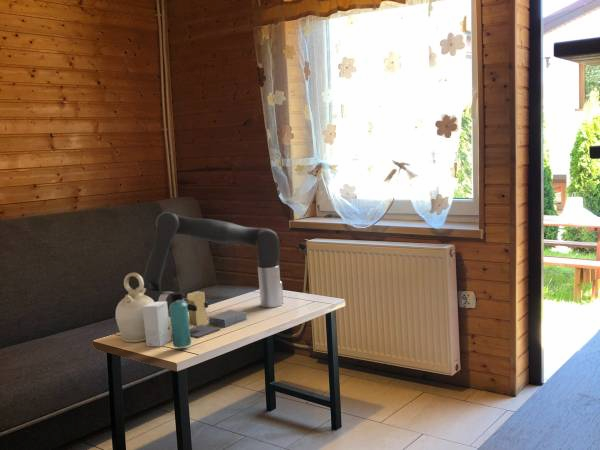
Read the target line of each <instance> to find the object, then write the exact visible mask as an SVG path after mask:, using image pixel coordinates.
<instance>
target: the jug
mask: <svg viewBox="0 0 600 450" xmlns="http://www.w3.org/2000/svg"><path fill="white" fill-rule="evenodd" d="M132 277H134V278H136V279H137V281H138V286H137V287H136V288H135V289H134V288H132V287H131V286H130V284H129V282H130V280H131V279H130V278H132ZM123 286H124V289H125V290H126V291H127V292H128V294H125V296H124V298H122V299H121V300H120V301H119V302H118V303H117V306H116V308H115V321H116V323H117V327H118V330H119V333H120V336H121V338H122V341H124V342H126V343H132V344H133V343H141V342H146V335H145V326H144V317H143V308H142V307H143V306H145V305H147V304H150V303H152V302H154V301H153V299H151V298H150V297H148V296H146V295H144V293H145V291H146V289H147V288H145V287H144V286H145V281H144V280H143V276H142V275H140V273H138V272H130V273H128V274H126V276H125V277H124V279H123Z"/></svg>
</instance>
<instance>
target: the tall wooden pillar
mask: <svg viewBox="0 0 600 450" xmlns="http://www.w3.org/2000/svg"><path fill="white" fill-rule="evenodd" d="M205 295H206V294H205V291H198V290H196V291H192V292H189V293H187V296H186V297H187V298H188V304H191V305H196V306H197V311H190V310H189V311H188V319H189V323H190V324H189V326H193V327H196V326H200V325H203V326H204V325H206V324H207V323H208V319H207V308H206V306H205V302H206V296H205Z"/></svg>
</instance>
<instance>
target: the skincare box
mask: <svg viewBox="0 0 600 450" xmlns="http://www.w3.org/2000/svg"><path fill="white" fill-rule="evenodd" d="M142 308H143V317H144V326H145V335H146V341H145V342H146V347H155V348H160V347H162V346H164V345H166V344H168V342H171V341H172V333H171V324H170V314H169V311H168V306H167V302H165V301H164V302H152V303H150V304H147V305H145V306H143V307H142Z"/></svg>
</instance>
